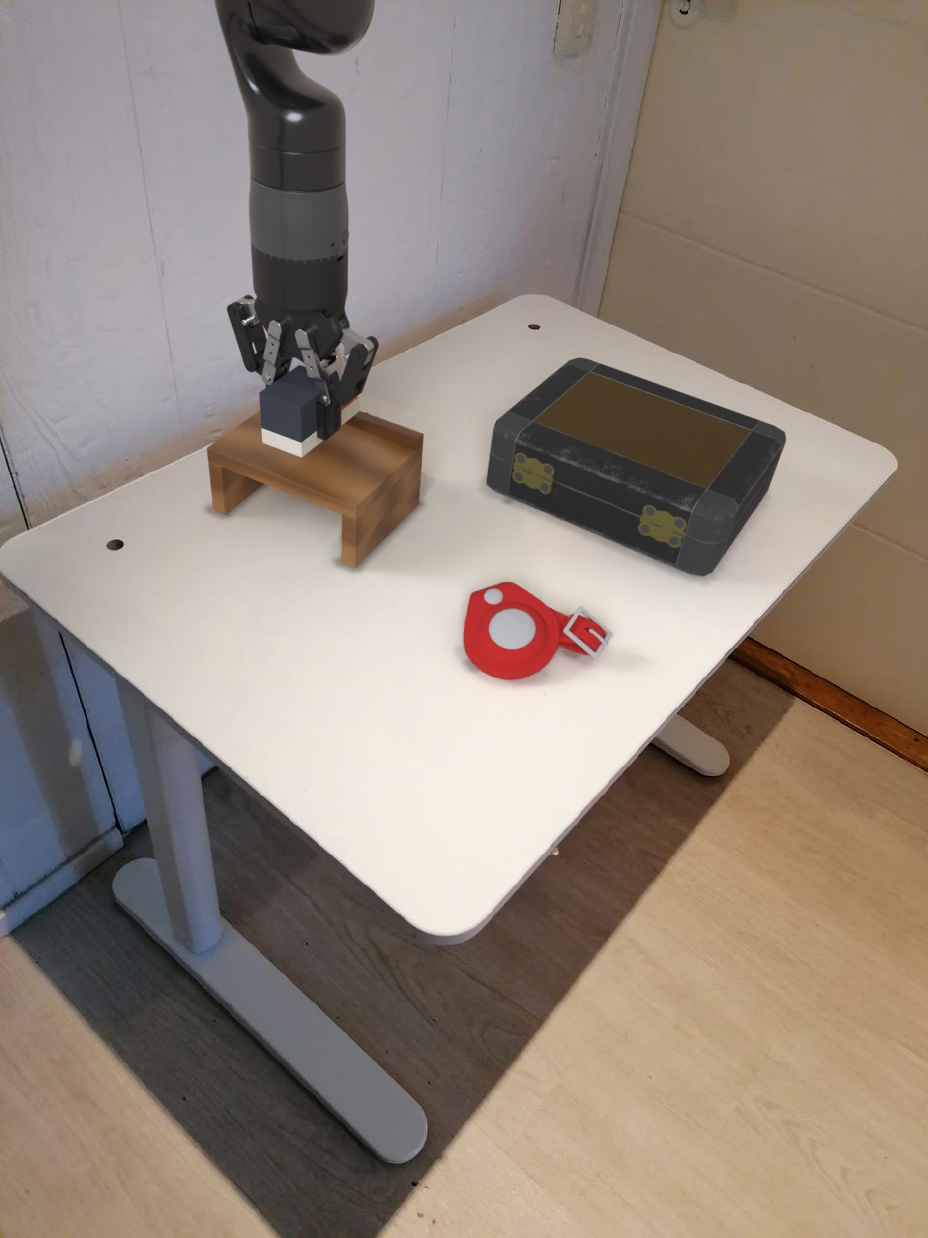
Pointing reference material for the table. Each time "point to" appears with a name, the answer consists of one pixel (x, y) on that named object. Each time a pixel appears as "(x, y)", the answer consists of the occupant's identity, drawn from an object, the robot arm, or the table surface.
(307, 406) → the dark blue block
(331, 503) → the shoe shelf
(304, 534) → the table surface
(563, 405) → the cash box
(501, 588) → the tracker holder
